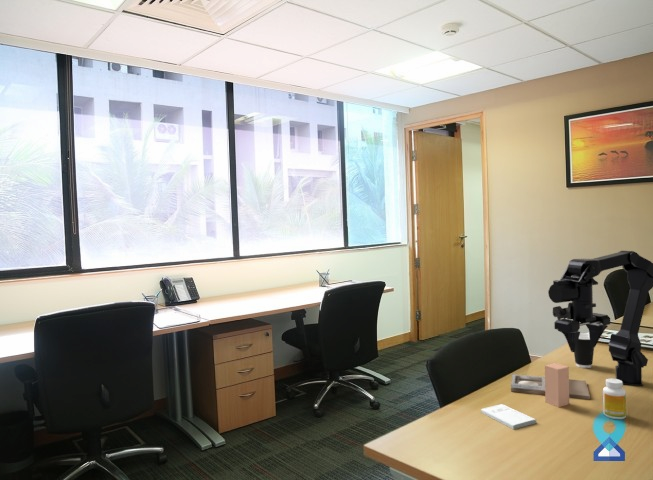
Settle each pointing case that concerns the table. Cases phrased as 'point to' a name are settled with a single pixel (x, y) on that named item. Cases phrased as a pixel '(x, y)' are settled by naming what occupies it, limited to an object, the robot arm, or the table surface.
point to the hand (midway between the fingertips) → (583, 349)
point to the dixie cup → (584, 352)
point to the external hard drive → (508, 416)
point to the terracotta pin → (557, 384)
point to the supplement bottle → (614, 399)
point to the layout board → (538, 386)
